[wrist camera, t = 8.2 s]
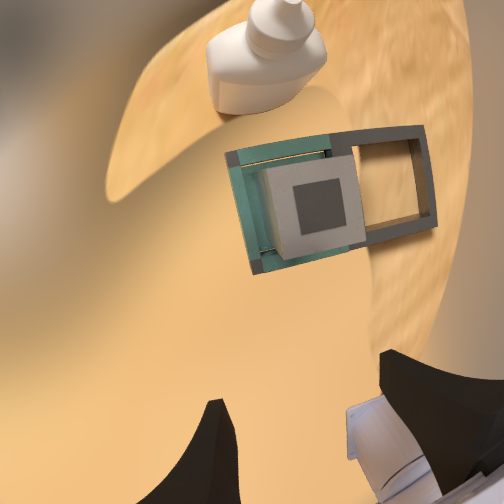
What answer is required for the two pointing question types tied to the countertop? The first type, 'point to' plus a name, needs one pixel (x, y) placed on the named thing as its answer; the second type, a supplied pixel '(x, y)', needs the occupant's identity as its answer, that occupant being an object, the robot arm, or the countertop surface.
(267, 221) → the block
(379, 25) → the countertop surface
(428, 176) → the grey flat frame
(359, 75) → the countertop surface
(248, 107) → the eye dropper bottle
